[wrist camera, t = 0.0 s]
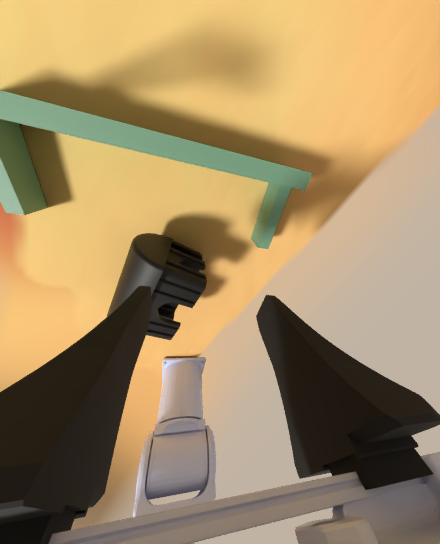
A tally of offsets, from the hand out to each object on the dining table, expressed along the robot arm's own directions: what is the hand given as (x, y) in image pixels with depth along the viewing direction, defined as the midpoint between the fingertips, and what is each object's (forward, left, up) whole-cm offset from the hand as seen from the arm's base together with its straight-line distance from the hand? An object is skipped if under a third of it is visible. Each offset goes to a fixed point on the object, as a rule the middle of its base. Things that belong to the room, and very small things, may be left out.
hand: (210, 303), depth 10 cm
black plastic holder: (-5, +4, -10) cm, 12 cm away
